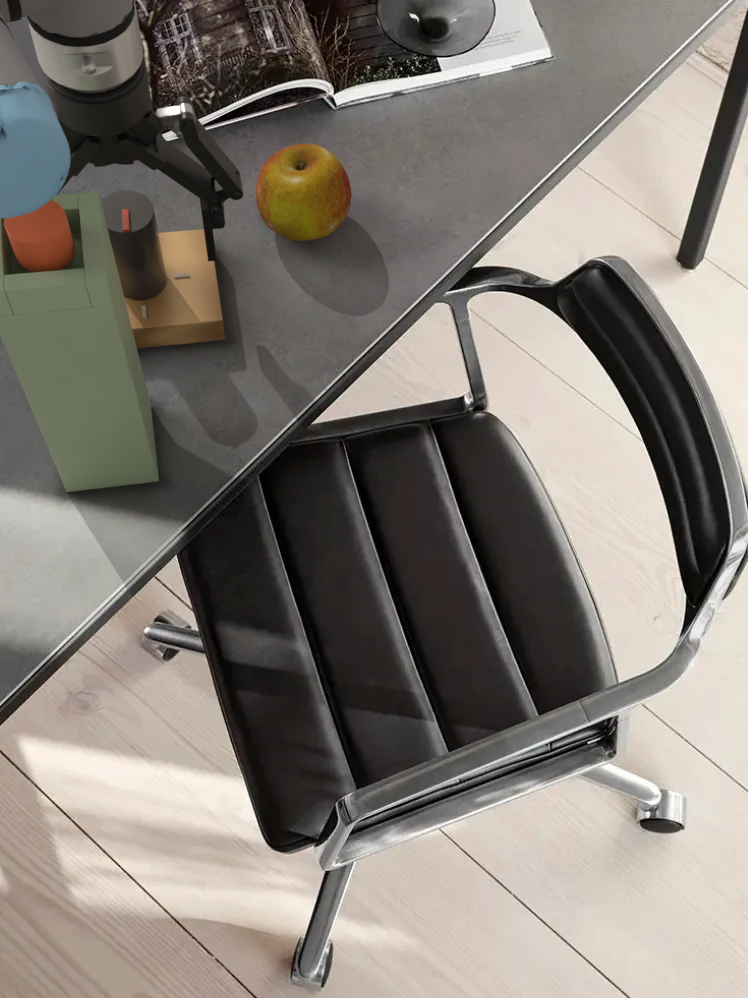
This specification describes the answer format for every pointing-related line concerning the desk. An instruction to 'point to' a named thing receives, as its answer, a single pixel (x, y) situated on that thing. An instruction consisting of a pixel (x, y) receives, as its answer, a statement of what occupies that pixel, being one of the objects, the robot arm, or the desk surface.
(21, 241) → the button
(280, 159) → the fruit
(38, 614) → the desk surface
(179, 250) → the dial panel
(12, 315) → the button stand
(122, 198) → the dial knob
